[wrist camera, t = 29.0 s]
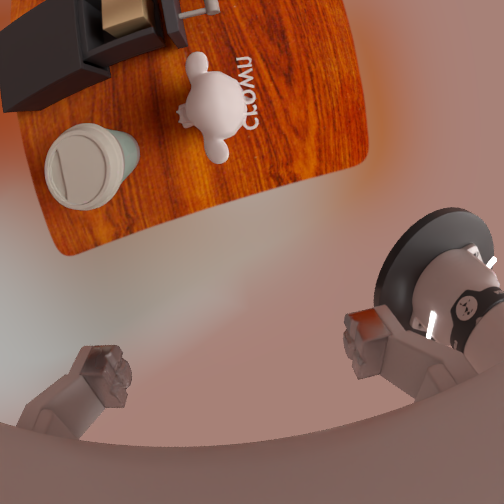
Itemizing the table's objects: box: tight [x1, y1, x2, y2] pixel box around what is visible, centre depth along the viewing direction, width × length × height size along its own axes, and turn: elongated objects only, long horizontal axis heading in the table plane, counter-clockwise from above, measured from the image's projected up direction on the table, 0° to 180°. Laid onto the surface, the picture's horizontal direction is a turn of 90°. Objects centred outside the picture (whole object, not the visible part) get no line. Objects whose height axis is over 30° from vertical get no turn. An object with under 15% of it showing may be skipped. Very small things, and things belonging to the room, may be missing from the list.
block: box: [102, 0, 156, 39], centre depth 22 cm, size 4×4×6 cm
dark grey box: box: [0, 0, 111, 113], centre depth 23 cm, size 12×12×9 cm
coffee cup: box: [45, 123, 140, 210], centre depth 28 cm, size 8×9×12 cm
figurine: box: [176, 52, 258, 164], centre depth 29 cm, size 12×8×10 cm
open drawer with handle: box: [77, 0, 220, 68], centre depth 23 cm, size 15×10×7 cm
